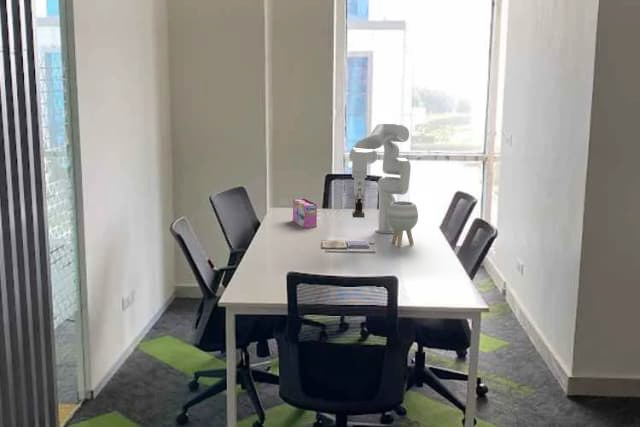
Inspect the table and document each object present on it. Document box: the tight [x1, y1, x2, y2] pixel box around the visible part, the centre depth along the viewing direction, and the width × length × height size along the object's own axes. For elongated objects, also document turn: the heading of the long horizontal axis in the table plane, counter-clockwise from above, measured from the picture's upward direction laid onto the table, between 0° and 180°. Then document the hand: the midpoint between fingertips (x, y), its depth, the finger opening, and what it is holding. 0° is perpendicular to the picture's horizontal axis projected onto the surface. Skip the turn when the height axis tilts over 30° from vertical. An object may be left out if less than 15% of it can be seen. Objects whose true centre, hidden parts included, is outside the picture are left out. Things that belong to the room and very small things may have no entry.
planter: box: [387, 200, 419, 248], centre depth 367 cm, size 16×16×22 cm
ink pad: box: [346, 240, 370, 249], centre depth 366 cm, size 11×11×2 cm
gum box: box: [292, 198, 318, 229], centre depth 420 cm, size 24×8×14 cm, turn 20°
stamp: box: [352, 195, 365, 219], centre depth 363 cm, size 6×6×13 cm
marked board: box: [321, 239, 348, 250], centre depth 367 cm, size 13×16×1 cm
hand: (358, 209), depth 363 cm, fingers closed on stamp, 4 cm apart
